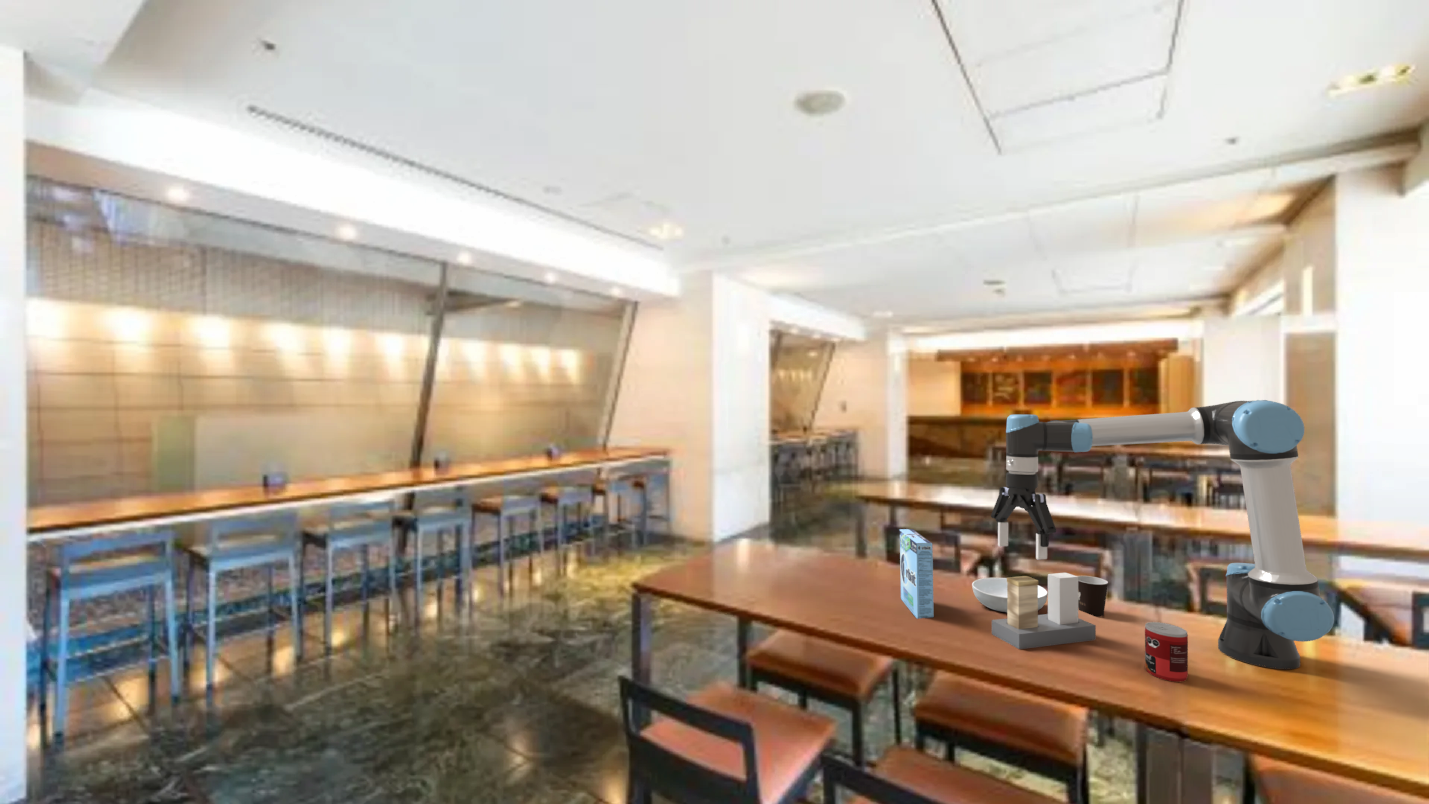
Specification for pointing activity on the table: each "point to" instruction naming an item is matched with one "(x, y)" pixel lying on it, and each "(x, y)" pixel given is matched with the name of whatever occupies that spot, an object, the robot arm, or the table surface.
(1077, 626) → the grey peg board
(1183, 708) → the table surface
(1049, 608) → the white plug
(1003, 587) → the serving bowl
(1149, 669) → the canned food
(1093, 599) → the coffee mug
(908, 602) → the gum box
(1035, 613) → the beech plug
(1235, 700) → the table surface
